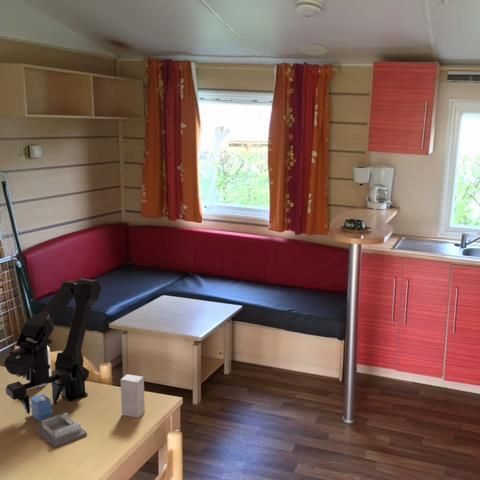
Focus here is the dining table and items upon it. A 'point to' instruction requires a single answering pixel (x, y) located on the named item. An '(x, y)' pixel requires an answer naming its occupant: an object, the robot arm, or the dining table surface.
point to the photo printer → (48, 363)
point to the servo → (41, 407)
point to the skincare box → (132, 395)
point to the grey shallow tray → (60, 430)
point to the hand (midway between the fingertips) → (41, 408)
